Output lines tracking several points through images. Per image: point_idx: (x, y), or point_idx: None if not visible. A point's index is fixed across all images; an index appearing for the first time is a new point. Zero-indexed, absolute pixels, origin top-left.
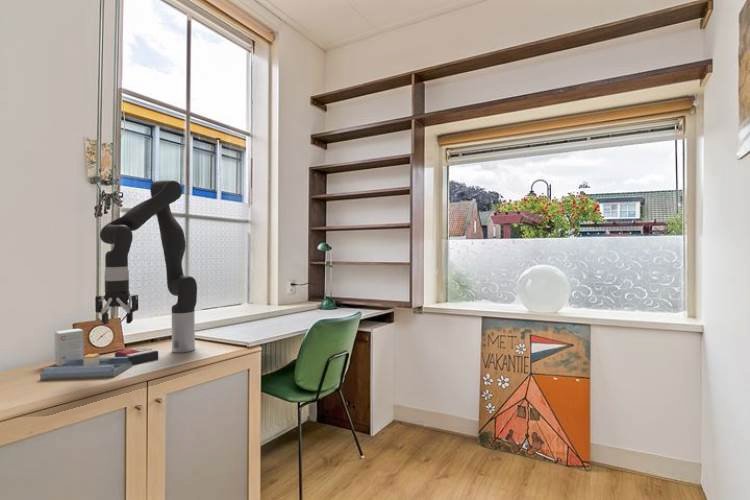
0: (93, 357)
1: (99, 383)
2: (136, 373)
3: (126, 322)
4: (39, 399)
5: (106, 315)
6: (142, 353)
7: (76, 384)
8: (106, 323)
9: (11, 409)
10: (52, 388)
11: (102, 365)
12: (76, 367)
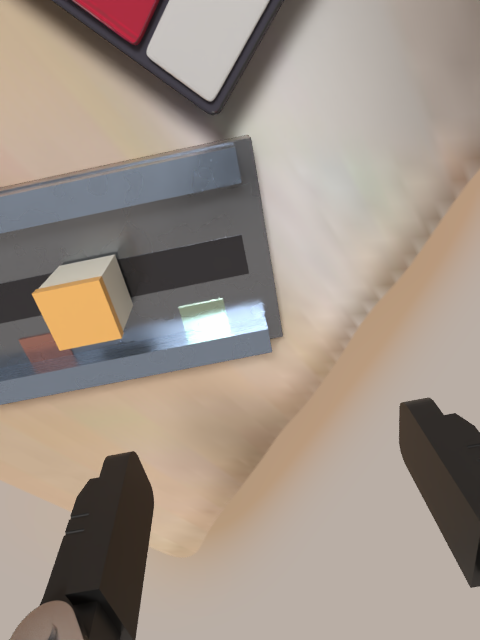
0: (120, 335)
1: (271, 389)
2: (353, 261)
3: (407, 465)
4: (192, 509)
5: (125, 590)
6: (265, 9)
7: (186, 406)
8: (147, 482)
9: (185, 555)
10: (135, 445)
11: (211, 341)
12: (101, 380)
